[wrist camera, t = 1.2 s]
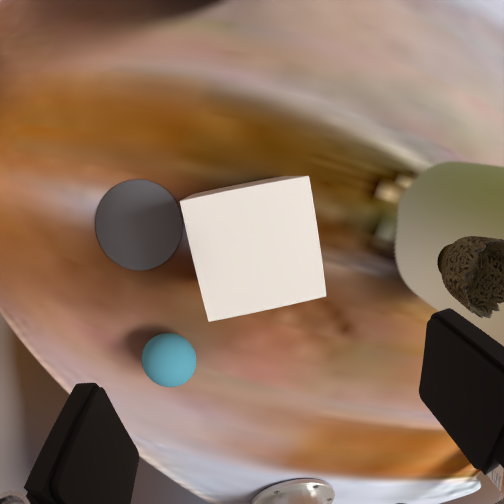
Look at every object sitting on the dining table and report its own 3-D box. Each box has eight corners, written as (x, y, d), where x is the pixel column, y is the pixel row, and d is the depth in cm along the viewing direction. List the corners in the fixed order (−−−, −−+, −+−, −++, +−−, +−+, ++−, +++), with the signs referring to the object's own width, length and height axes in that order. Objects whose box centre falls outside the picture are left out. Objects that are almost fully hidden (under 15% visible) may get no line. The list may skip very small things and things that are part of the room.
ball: (208, 354, 30) (206, 383, 26) (167, 375, 31) (160, 405, 26) (178, 314, 29) (170, 340, 24) (137, 338, 29) (124, 365, 25)
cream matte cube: (296, 261, 29) (326, 296, 21) (212, 279, 29) (208, 321, 20) (282, 176, 27) (308, 175, 19) (193, 193, 27) (179, 201, 18)
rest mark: (199, 239, 28) (199, 240, 28) (128, 285, 28) (127, 286, 28) (150, 161, 26) (150, 161, 26) (81, 212, 26) (80, 212, 26)
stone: (409, 273, 31) (455, 300, 23) (442, 212, 30) (493, 224, 22) (449, 301, 32) (492, 329, 24) (478, 246, 31) (526, 263, 23)
